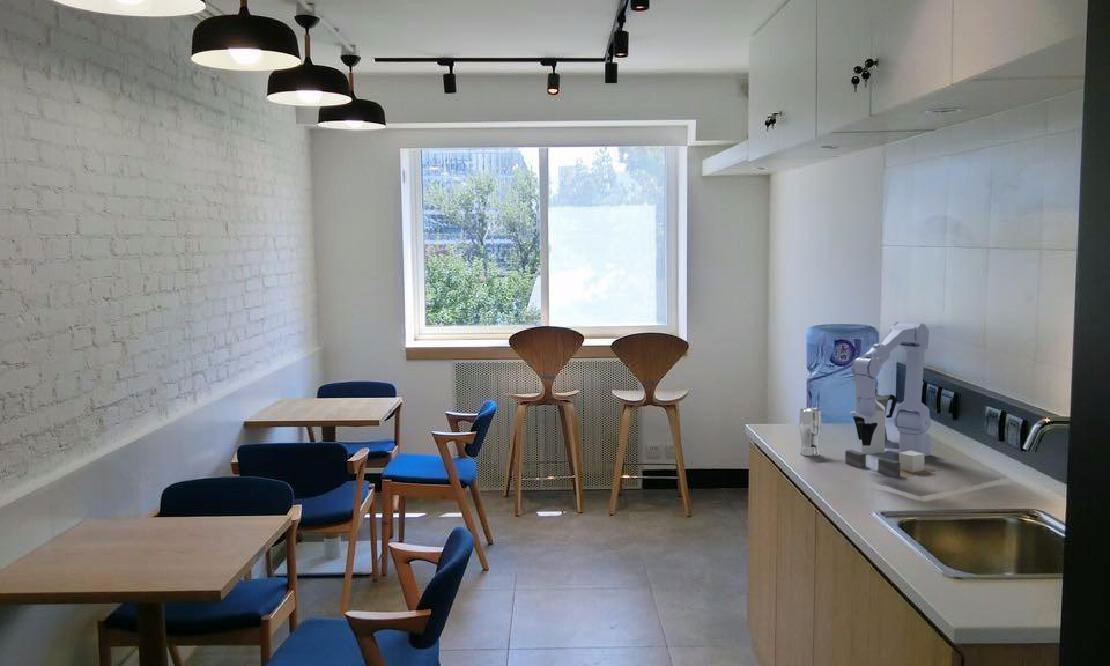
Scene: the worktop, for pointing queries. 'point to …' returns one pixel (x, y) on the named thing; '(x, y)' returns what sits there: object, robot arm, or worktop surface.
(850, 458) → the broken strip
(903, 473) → the walnut strip
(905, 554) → the worktop surface
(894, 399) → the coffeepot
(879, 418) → the milk carton
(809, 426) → the silver drinking tumbler
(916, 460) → the ceramic block
